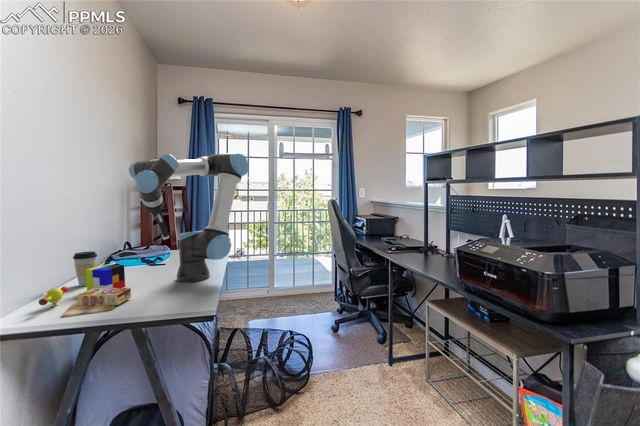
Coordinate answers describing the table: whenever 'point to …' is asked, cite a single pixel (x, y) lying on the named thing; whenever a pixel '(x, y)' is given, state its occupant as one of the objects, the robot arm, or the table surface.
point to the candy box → (104, 296)
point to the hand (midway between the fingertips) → (160, 226)
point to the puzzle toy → (105, 277)
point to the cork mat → (86, 309)
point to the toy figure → (53, 296)
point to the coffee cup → (84, 265)
